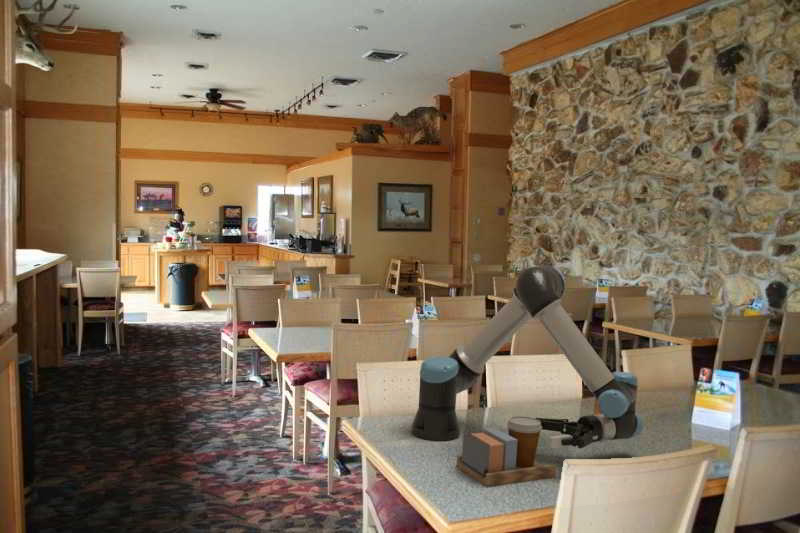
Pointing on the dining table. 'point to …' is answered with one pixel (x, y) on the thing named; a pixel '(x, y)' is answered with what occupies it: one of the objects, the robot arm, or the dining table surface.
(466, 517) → the dining table surface
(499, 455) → the books
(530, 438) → the disposable coffee cup
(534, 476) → the wooden serving tray
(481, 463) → the bookend
